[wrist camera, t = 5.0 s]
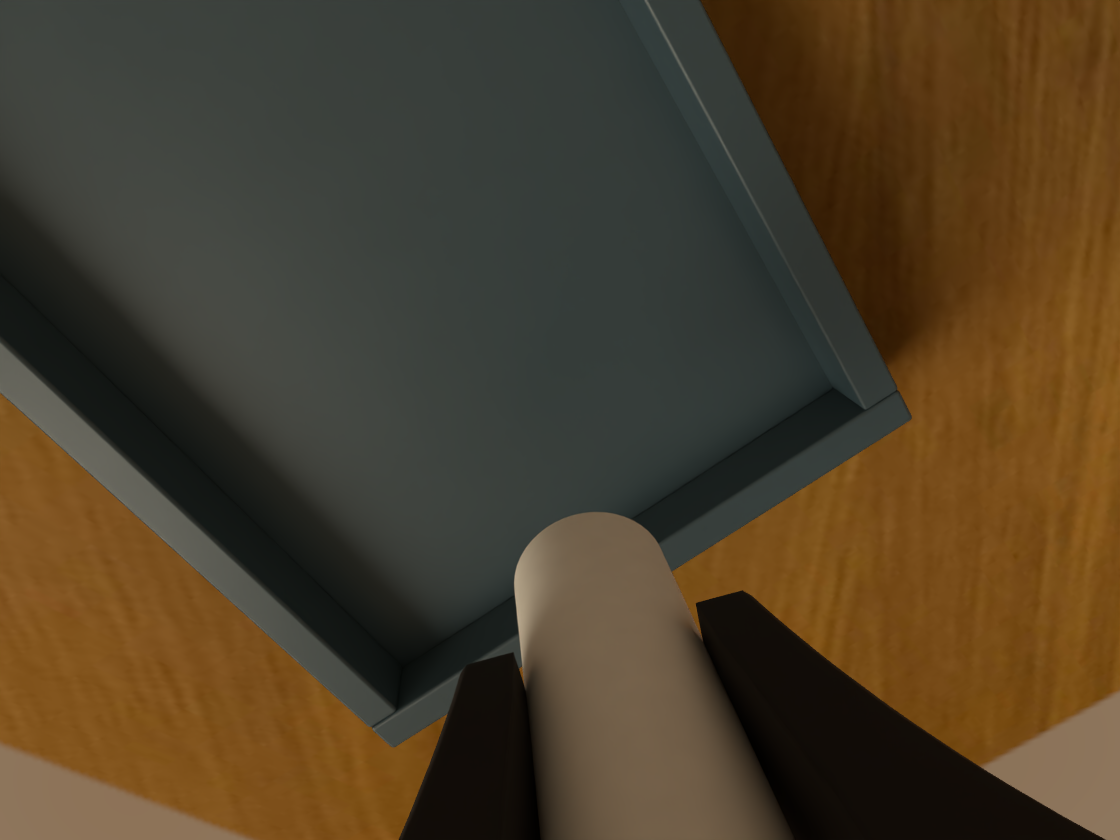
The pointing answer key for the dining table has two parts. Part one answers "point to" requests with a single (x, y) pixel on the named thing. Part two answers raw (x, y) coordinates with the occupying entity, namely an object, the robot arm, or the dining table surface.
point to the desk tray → (412, 302)
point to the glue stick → (628, 697)
